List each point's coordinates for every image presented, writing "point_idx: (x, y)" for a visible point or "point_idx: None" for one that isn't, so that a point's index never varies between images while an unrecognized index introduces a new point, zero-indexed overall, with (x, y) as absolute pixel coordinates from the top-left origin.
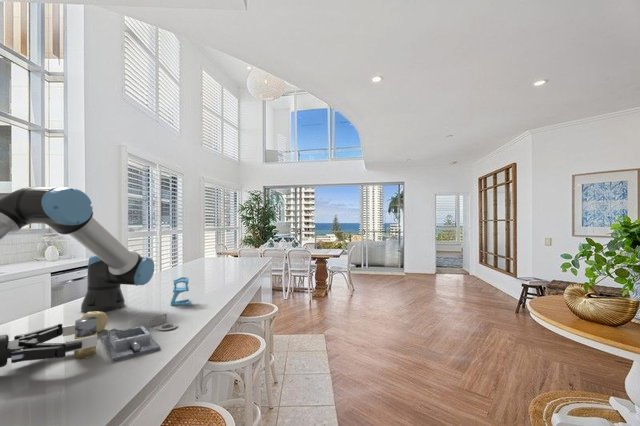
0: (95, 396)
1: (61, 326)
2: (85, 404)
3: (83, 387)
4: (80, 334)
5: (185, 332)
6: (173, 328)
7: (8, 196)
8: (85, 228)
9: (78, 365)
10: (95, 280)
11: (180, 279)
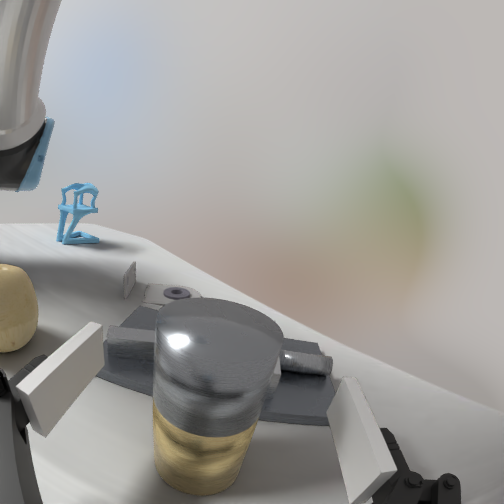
0: (492, 446)
1: (9, 387)
2: None
3: (462, 472)
4: (254, 415)
5: (239, 301)
6: (200, 296)
7: None
8: None
9: (303, 499)
10: None
11: (73, 187)
